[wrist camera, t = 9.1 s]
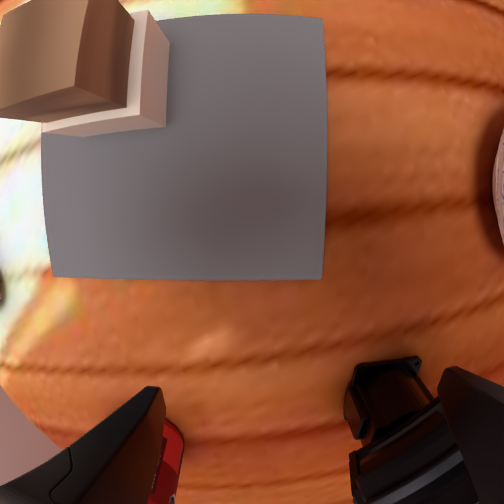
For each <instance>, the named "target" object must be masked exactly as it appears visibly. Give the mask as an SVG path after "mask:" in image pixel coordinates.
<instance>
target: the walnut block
mask: <svg viewBox="0 0 504 504" xmlns="http://www.w3.org/2000/svg"><path fill="white" fill-rule="evenodd" d="M134 22H135V20H134V19H133V18H132V17H131V16H130V14H129V13H128V12H127V11H126V10H125V8H124V7H123V6H122V5H121V4H120V3H119V1H118V0H31V1H29V2H27V3H25V4H23V5H21V6H19V7H17V8H15V9H13V10H12V11H10V12H8V13H6V14H4V15H3V18H2V22H1V25H0V118H9V119H18V120H26V121H34V122H41V123H49V122H53V121H57V120H62V119H66V118H71V117H76V116H81V115H86V114H91V113H97V112H103V111H109V110H115V109H122V108H127V90H128V76H129V65H130V54H131V45H132V37H133V30H134Z"/></svg>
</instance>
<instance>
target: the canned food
mask: <svg viewBox="0 0 504 504" xmlns="http://www.w3.org/2000/svg"><path fill="white" fill-rule="evenodd" d="M183 452H184V445H183V439H182V436H181V434H180V433H179V431H178V430H177V429H176V428H175V427H174V426H173V425H172V424H171V423H170V422H168V421H167V420H165V423H164V430H163V437H162V445H161V452H160V457H159V461H158V465H157V469H156V473H155V476H154V480H153V484H152V488H151V492H150V496H149V499H148V503H147V504H174V503H175V497H176V491H177V485H178V480H179V474H180V468H181V463H182V457H183Z"/></svg>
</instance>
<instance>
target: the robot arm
mask: <svg viewBox="0 0 504 504" xmlns="http://www.w3.org/2000/svg"><path fill="white" fill-rule="evenodd" d="M421 363H422V360H421V359H420V358H419V357H411V358H404V359H398V360H391V361H383V362H376V363H367V364H360V365H358V366H356V367H355V369H354V374H353V378H352V383H351V386H350V387H349V388H348V390H347V394H346V399H345V403H344V407H343V409H344V419H345V420H348V423H349V426H350V429H351V431H352V434H353V437H354V439H356V440H361V443H362V445H363V447H362V448H360V449H359V450H357V451H353V452H351V453H349V460H350V462H349V467H350V478H351V490H352V496H353V503H354V504H504V387H503V386H501V385H498V384H496V383H494V382H492V381H489V380H487V379H485V378H482V377H480V376H478V375H476V374H473V373H471V372H469V371H466V370H464V369H462V368H460V367H457V366H452V367H448V368H446V369H445V370H444V372H443V375H442V377H441V380H440V382H439V385H438V388H437V391H438V396H437V397H436V398H435V399H434V397H433V396H432V394H431V393H430V392H429V390H428V389H427V387H426V386H425V385H424V383H423V382H422V380H421V379H420V378H419V376H418V372H419V369H420V366H421ZM361 369H362V370H361ZM360 370H361V371H360ZM165 416H166V406H165V402H164V397H163V393H162V390H161V388H160V387H156V386H146V387H145V388H144V389H142V390H141V391H140V392H139V393H137V394H136V395H135V396H134V397H132V398H131V399H130V400H128V401H127V402H126V403H125V404H123V405H122V406H121V407H119V408H118V409H117V410H116V411H114V412H113V413H112V414H110V415H109V416H108V417H107V418H105V419H104V420H103V421H101V422H100V423H99V424H97V425H96V426H95V427H93V428H92V429H91V430H89V431H88V432H87V433H86V434H84V435H83V436H82V437H80V438H79V439H77V440H76V441H75V442H73V443H72V444H71V445H70V446H69V447H70V448H69V447H67V448H65V449H64V450H62V451H61V452H60V453H58V454H57V455H55V456H54V457H52V458H51V459H50V460H48V461H47V462H45V463H43V464H41V465H40V466H38V467H36V468H35V469H33V470H31V471H29V472H27V473H25V474H24V475H22V476H20V477H18V478H16V479H14V480H12V481H10V482H8V483H6V484H4V485H1V486H0V504H147V503H148V499H149V496H150V492H151V488H152V484H153V480H154V476H155V473H156V469H157V465H158V461H159V457H160V452H161V445H162V437H163V430H164V423H165Z"/></svg>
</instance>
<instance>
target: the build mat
mask: <svg viewBox="0 0 504 504" xmlns="http://www.w3.org/2000/svg"><path fill="white" fill-rule="evenodd" d="M156 23H157V24H158V26H159V27H160V29H161V30H162V32H163V33H164V35H165V36H166V38H167V39H168V41H169V42H170V47H169V61H168V80H167V107H166V127H160V128H149V129H139V130H131V131H122V132H115V133H108V134H101V135H94V136H88V137H79V136H70V135H61V134H52V133H41V169H42V191H43V205H44V216H45V225H46V233H47V241H48V248H49V254H50V261H51V266H52V272H53V277H69V278H99V279H138V280H318V279H322V269H323V255H324V239H325V219H326V192H327V90H326V65H325V47H324V32H323V20H322V18H313V17H303V16H292V15H275V14H221V15H204V16H192V17H183V18H174V19H167V20H160V21H156Z"/></svg>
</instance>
